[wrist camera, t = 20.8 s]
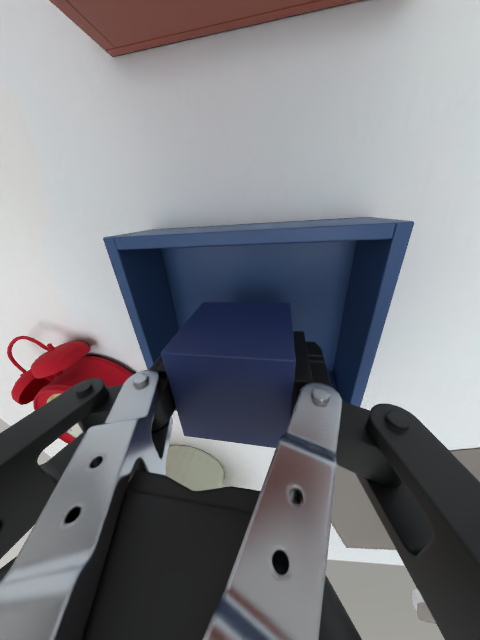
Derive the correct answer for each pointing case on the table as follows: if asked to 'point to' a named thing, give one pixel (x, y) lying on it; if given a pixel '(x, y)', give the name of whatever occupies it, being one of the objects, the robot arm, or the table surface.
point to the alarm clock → (62, 375)
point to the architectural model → (377, 517)
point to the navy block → (234, 372)
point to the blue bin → (270, 282)
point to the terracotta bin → (174, 18)
